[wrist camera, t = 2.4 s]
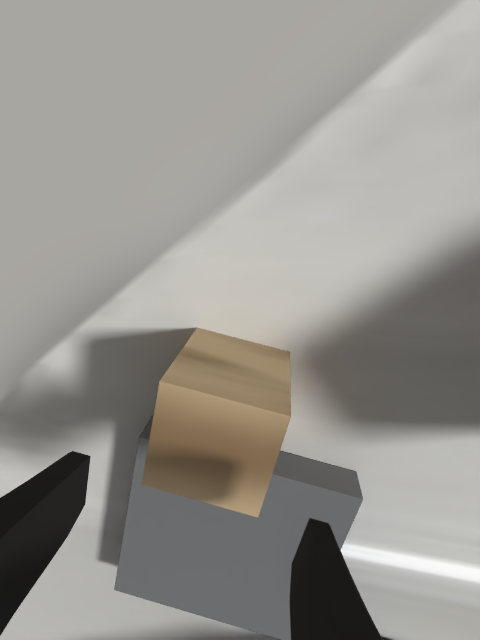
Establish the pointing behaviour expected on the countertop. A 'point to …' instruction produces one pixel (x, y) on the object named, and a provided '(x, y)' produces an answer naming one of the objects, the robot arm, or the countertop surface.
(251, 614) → the plate
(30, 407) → the countertop surface
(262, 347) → the oak block
